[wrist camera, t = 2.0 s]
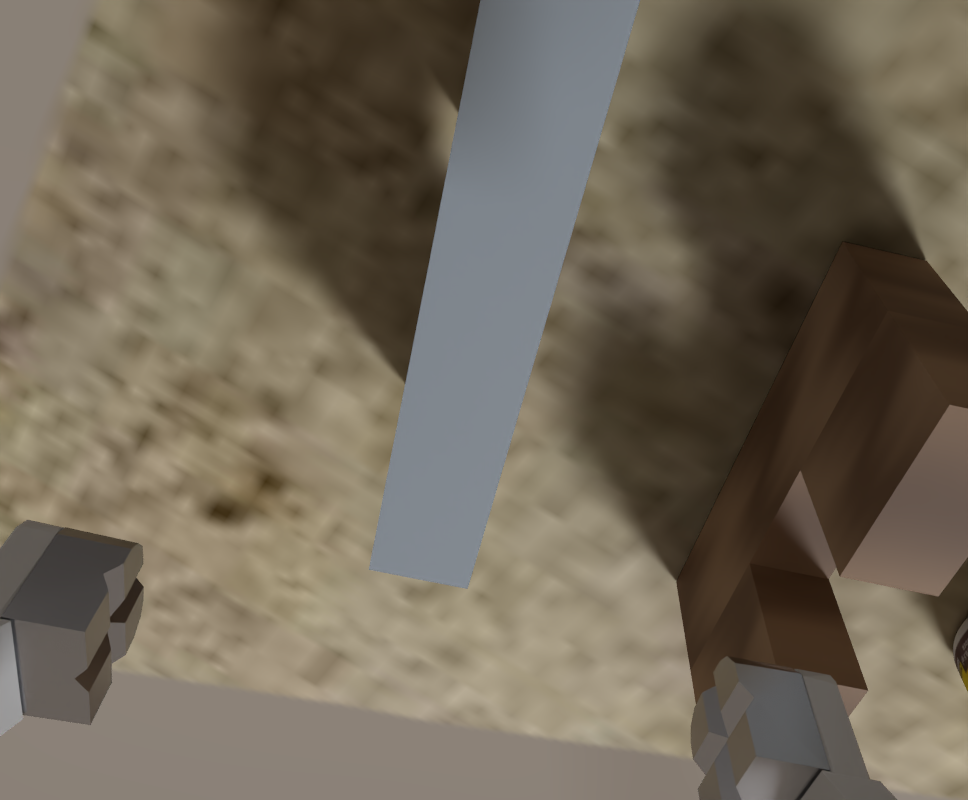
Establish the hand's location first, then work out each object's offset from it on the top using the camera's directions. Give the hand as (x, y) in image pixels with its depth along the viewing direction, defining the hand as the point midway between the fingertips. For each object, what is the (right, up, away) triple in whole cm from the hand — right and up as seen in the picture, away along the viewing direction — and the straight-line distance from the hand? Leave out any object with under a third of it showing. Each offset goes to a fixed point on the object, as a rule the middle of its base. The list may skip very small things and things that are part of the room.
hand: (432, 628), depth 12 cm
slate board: (+1, +9, +12) cm, 15 cm away
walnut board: (+11, +2, +16) cm, 20 cm away
